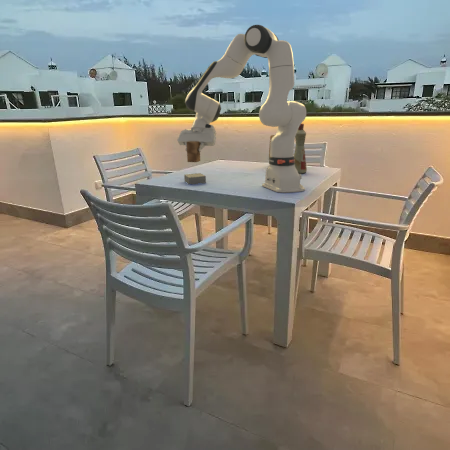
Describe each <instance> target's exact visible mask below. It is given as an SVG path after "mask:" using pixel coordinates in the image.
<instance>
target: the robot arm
mask: <svg viewBox="0 0 450 450" xmlns="http://www.w3.org/2000/svg"><path fill="white" fill-rule="evenodd" d="M254 55H255V56H256V57H261V58H265V59H267V60H268V79H269V80H268V81H269V82H268V84H269V85H268V87H269V88H268V94H267V97H266V100H265V102H264V103H263V104H262V105H261V106H260V108H259V110H258V112H259V113H258V118H259V122H260V123H261V124H262V125H263V126H266V127H272V128H274V127H275V128H276V127H277V131H276V132H275V134H273V135H274V136H273V137H272V139H271V142H270V141H269V146H270V156H269V155H268V164H269V165H268V166H267V167H266V169H265V178H264V183H262V184H261V187H263V188H266V189H269V190H271V191H273V192H276V193H298V192H303V191H305V190H306V188H305V187H304V186H303V185H302V184H301V180H302V179H303V177H302V174H298V171H297V170H296V168H295V165H294V164H295V159H294V153H295V141H296V139H295V136H296V133H297V130H298V128H299V126H300V124H303V122H304V121H305V119H306V118H307V108H306V106H305V104H303V103H301V102H298V101H295V100H288V97H289V93H290V91H291V90H292V89H293V88H294V86H295V63H294V54H293V49H292V45H291V44H290V42H288V41H287V40H284V39H283V40H282V39H281V40H279V38H278V37H277V34H275V33H274V32H273V31H272V30H271V29H269V28H267V27H265V26H263V25H261V24H253V25H250V26H249V27H248V28H247V30H246V32H245V34H244V33H238V34H236V35H235V36H234V37H233V39H232V41H230V44H229V45H228V47H227V48H226V50H225V53H224V54H223V56H222V57H221V58H220V59H218V60H213V62H211V63H210V65H209V66H208V67H207V68H206V70H205V71H204V73H203V74H202V75H201V76H200V78H199V80H198V81H197V82H196V84H195V85H194V87H193V88H192V89H191V90H190V91H189V93H188V94H187V95H186V98H185V101H184V103H185V106H186V108H187V110H189V111H192V112H195V116H194V120H193V122H192V125H191V128H190V129H186V128H185V129H183V130H181V131H180V133H179V135H178V137H177V143H178V144H179V146H185V147H186V148H185V151H186V152H187V143H186V142H189V141H199V142H200V147H198V149H197V151H198V152H200V153H201V152H202V150H203V149H204V148H205V147H207V146H208V147H212V146H215V145H216V142H217V132H216V129H215V127H214V125H213V124H211V123H214V122H216V121H217V120H218V119H219V117H220V114H221V111H222V106H221V103H220V102H219V101H218V100H215V99H214V98H211V97H210V96H208V95H206V94H204V93H203V91H204V89H205V88H206V86H207V85H208V83H209V82H210V81H211V80H212V79H215V78H223V79H235V78H237V77H238V76H240V75H241V73H242V72H243V70H244V69H245V67H246V65H247V63H248V61H249V59H250V58H251V57H252V56H254Z"/></svg>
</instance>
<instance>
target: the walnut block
mask: <svg viewBox="0 0 450 450" xmlns="http://www.w3.org/2000/svg"><path fill="white" fill-rule="evenodd" d="M186 143H187V151H186V155H187V156H186V158H187V161H186V162H187V163H198V162H201V152H198V151H197V149H198V147H200V142H199V141H189V142H186Z"/></svg>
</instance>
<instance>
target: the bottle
mask: <svg viewBox="0 0 450 450" xmlns="http://www.w3.org/2000/svg"><path fill="white" fill-rule="evenodd" d="M304 126H305V124H304V123H301V124H300V126H299V128H298V130H297V133H296V136H295V146H294V152H293V156H294V159H295V164H294V165H295V168H296V170H297V171H298V174H299V175H300V174H301V175H302V174H306V173H307V160H306V149H305V142H306V136H307V131H305V130H304Z"/></svg>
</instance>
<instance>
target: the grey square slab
mask: <svg viewBox="0 0 450 450" xmlns="http://www.w3.org/2000/svg"><path fill="white" fill-rule="evenodd" d="M183 177H184V178H183V181H184V182H185V183H186V182H187V183H188V184H187V183H186V184H187V185H189V184H192V185H199V184H198V183H202V184H206V183H207V177H206V175H204V174H203V173H201V172H198V173H186V174H184V175H183Z"/></svg>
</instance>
